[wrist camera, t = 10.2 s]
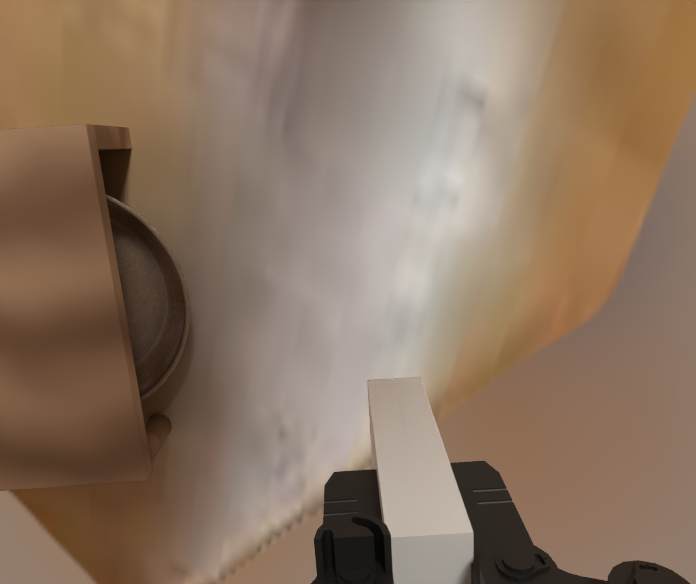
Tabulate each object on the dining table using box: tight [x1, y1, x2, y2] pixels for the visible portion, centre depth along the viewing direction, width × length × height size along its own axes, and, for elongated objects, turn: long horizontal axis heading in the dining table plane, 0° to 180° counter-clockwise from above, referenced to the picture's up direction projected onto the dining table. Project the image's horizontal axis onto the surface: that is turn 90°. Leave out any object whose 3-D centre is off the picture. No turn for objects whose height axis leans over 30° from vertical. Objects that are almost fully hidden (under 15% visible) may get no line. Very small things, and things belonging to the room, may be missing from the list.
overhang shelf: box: [0, 124, 171, 491], centre depth 34 cm, size 20×14×6 cm
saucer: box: [106, 195, 190, 401], centre depth 36 cm, size 15×15×3 cm
